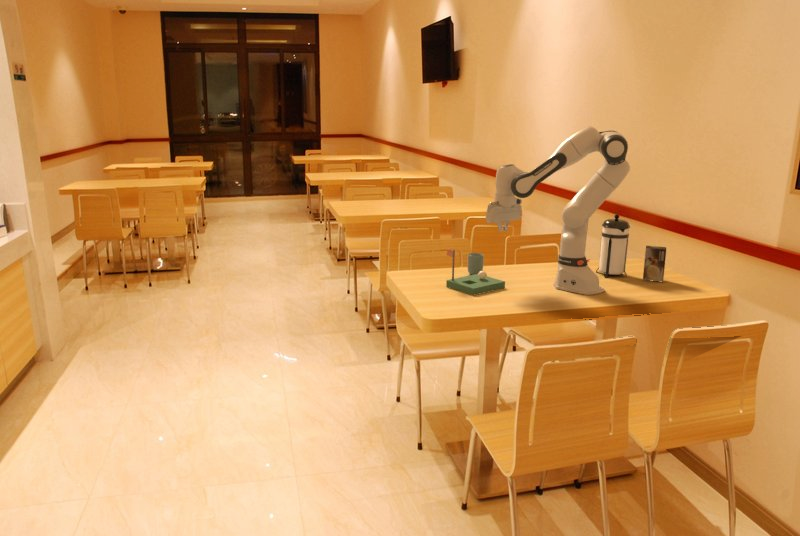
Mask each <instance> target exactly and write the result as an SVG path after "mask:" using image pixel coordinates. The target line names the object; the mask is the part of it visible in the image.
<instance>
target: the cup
mask: <svg viewBox="0 0 800 536" xmlns="http://www.w3.org/2000/svg"><path fill="white" fill-rule="evenodd" d="M484 256H485V255H484V253H480V252H470V253H468V254H467V265H466V266H467V272H468V274H469V275H474V274H478V273H479V272H480V271H484V262H485V261H484V260H485V259H484V258H485V257H484Z"/></svg>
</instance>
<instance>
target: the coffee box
mask: <svg viewBox="0 0 800 536" xmlns="http://www.w3.org/2000/svg"><path fill="white" fill-rule="evenodd" d="M666 256H667V247H666V246H655V245H645V253H644V263H643V275H642V281H643V280H653V281H663V282H664V279H665V277H664V276H665V268H666V267H665V266H666Z"/></svg>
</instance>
